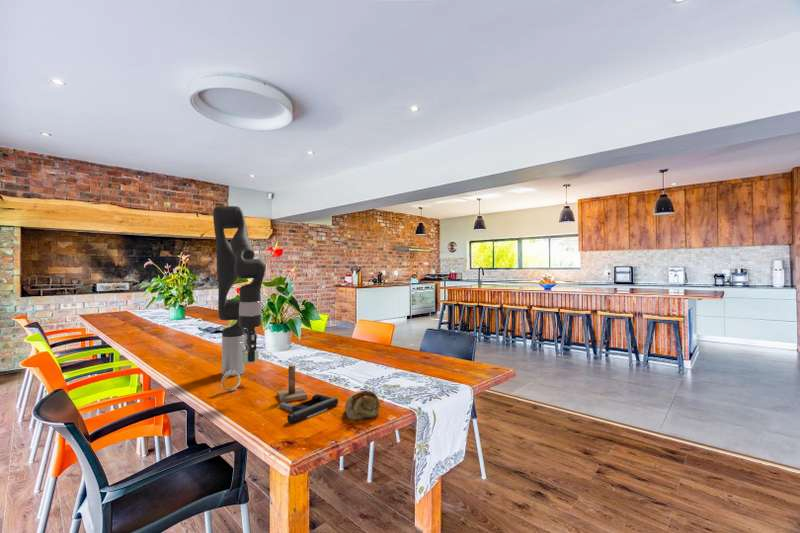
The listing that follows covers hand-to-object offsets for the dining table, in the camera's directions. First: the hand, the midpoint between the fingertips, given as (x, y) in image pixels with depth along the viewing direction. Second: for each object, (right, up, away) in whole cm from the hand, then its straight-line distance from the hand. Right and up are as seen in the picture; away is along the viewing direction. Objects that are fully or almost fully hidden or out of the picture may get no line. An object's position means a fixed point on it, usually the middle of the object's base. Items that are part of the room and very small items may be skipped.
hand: (250, 359), depth 135 cm
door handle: (+22, -15, -10) cm, 29 cm away
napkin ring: (0, -1, 0) cm, 1 cm away
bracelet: (-11, -14, +8) cm, 20 cm away
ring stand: (+15, -14, +2) cm, 21 cm away
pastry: (+43, -15, -12) cm, 47 cm away
